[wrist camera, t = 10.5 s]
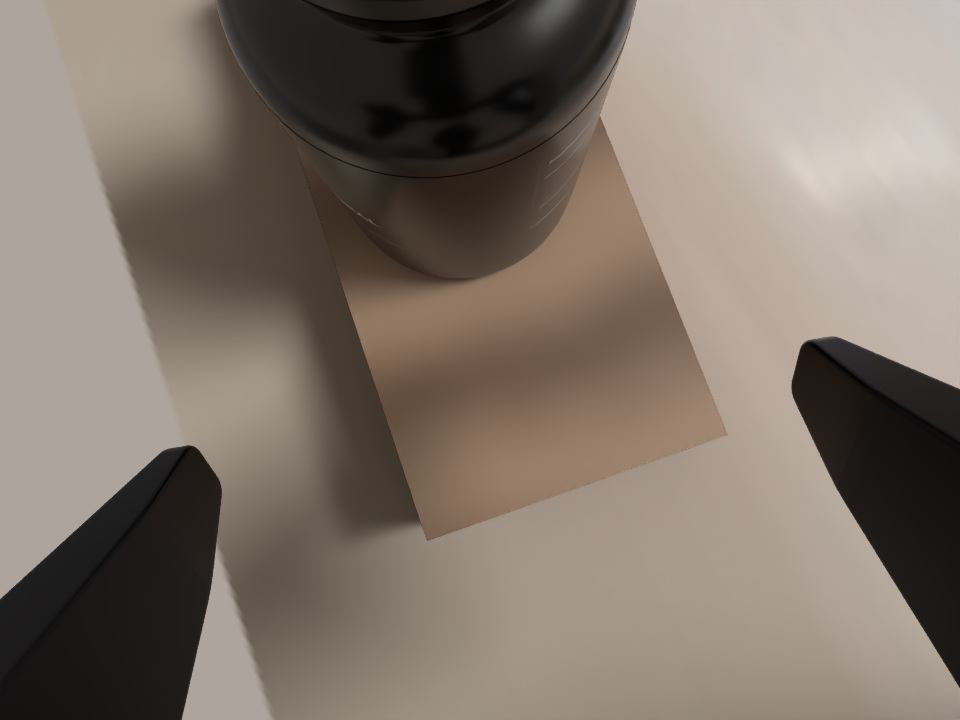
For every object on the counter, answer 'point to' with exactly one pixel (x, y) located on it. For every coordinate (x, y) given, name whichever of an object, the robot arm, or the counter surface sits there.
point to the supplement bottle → (438, 113)
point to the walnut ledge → (526, 357)
